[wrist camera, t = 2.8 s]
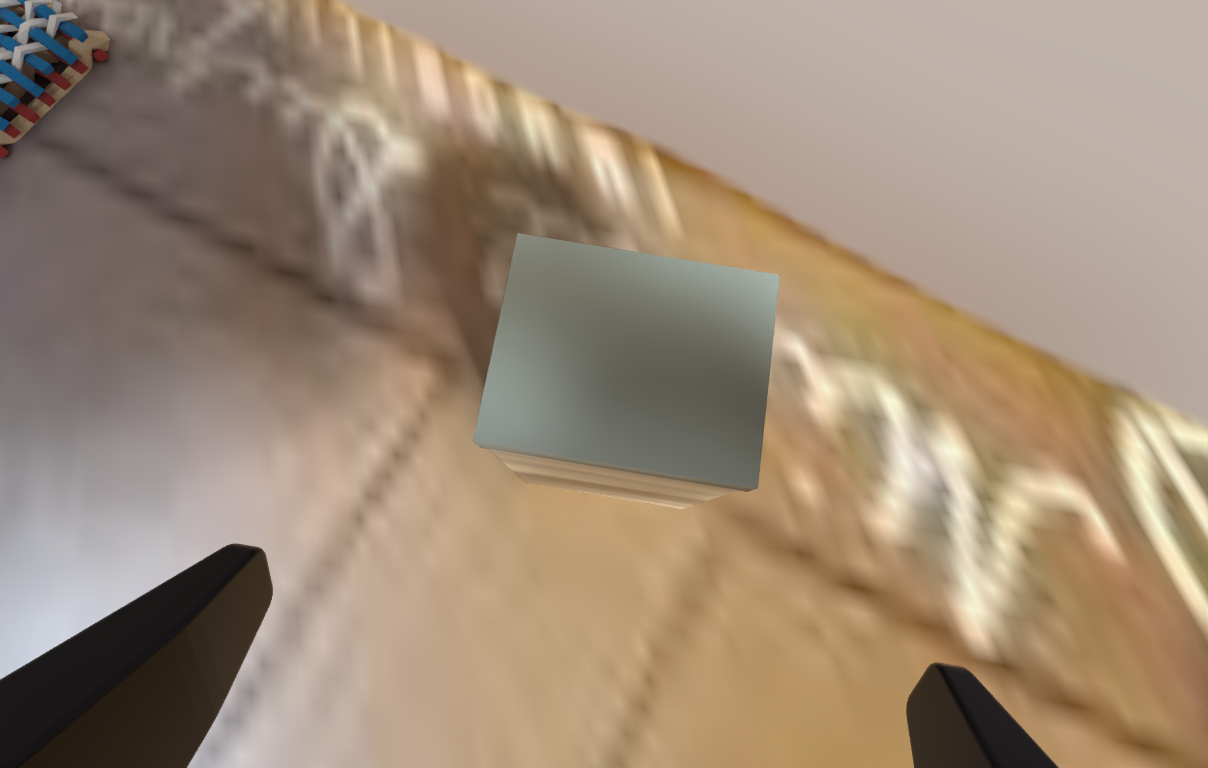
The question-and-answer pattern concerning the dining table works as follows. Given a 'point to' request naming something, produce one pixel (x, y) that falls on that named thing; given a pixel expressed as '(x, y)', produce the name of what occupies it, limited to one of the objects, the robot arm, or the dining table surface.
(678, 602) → the dining table surface
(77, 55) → the woven mat
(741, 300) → the beech block
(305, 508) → the dining table surface
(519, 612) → the dining table surface
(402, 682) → the dining table surface
